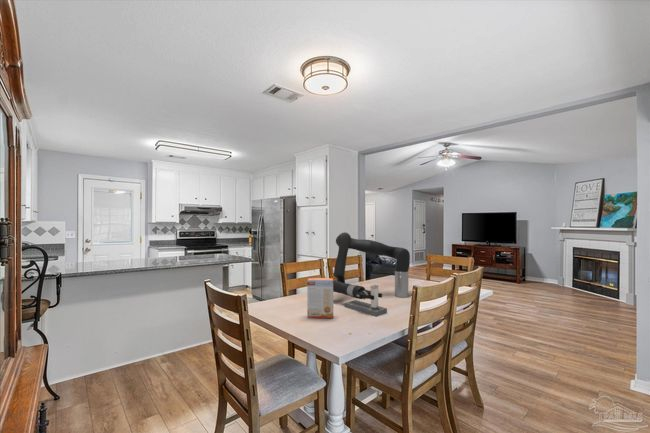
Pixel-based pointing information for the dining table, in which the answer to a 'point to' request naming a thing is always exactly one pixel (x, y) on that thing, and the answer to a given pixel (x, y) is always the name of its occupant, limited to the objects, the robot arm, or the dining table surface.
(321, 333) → the dining table surface
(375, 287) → the fader tab
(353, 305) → the fader console
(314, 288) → the cracker box
